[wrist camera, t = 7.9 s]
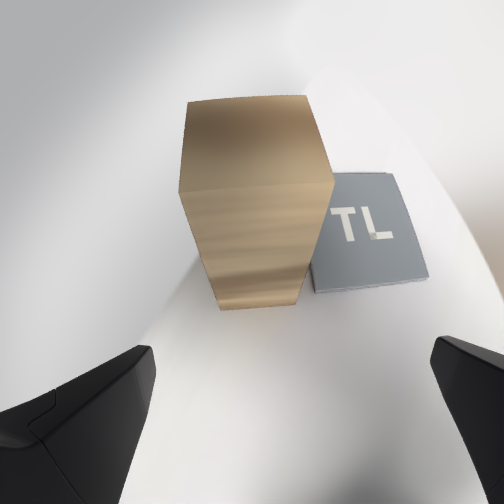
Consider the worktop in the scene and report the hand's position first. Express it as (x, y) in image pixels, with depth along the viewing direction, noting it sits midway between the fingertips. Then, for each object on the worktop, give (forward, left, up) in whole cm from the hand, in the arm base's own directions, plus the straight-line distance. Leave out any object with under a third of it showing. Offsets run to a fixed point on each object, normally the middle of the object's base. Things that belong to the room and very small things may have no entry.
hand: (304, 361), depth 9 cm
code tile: (+9, -10, -11) cm, 17 cm away
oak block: (+8, -1, -11) cm, 13 cm away
